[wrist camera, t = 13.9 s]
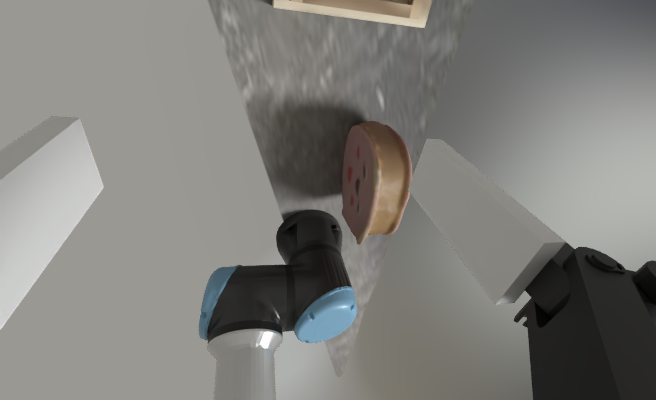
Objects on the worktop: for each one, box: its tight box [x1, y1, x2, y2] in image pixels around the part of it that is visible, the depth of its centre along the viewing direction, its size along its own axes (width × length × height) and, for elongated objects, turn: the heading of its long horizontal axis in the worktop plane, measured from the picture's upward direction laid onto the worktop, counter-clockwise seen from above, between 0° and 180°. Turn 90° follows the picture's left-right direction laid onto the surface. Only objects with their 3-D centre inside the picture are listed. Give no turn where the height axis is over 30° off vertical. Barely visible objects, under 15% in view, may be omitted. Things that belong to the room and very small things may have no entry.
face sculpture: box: [342, 121, 412, 244], centre depth 52 cm, size 20×7×17 cm, turn 175°
